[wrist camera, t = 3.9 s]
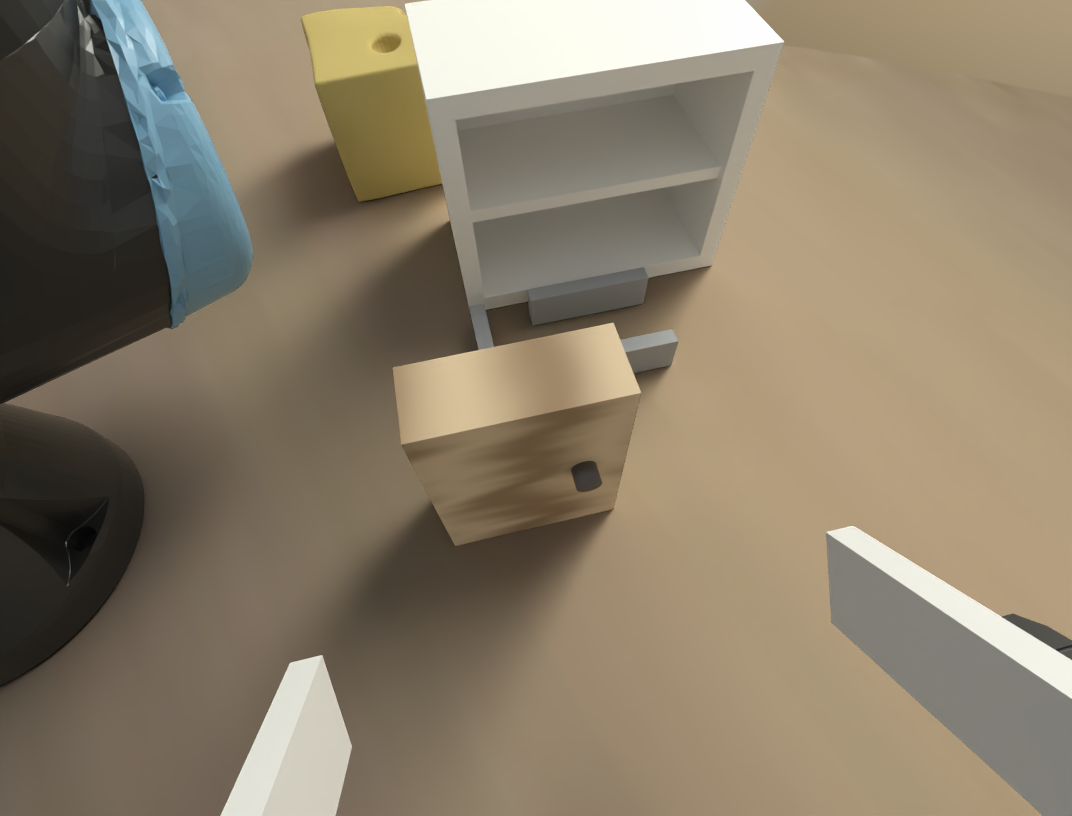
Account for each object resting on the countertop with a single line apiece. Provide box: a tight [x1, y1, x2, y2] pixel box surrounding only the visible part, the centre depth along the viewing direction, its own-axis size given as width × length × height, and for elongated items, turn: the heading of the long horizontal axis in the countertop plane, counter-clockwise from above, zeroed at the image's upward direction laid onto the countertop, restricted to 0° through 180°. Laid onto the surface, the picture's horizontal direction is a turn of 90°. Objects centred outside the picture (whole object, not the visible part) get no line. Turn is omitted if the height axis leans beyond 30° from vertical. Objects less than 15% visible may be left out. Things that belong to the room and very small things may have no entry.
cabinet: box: [405, 0, 784, 373], centre depth 33 cm, size 18×18×15 cm
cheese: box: [301, 6, 442, 202], centre depth 44 cm, size 10×11×10 cm
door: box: [393, 323, 641, 546], centre depth 26 cm, size 9×4×12 cm, turn 103°
